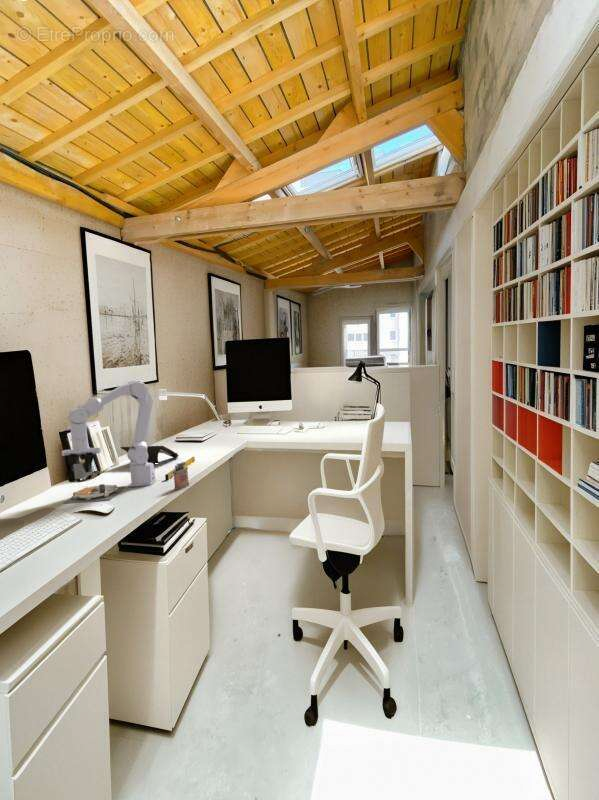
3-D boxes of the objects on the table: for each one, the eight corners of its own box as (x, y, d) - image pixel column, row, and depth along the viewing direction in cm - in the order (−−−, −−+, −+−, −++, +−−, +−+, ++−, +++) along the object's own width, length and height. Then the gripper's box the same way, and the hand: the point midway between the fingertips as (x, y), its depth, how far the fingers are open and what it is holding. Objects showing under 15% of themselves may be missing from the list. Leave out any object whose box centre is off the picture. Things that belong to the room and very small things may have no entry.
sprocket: (105, 485, 196) (104, 475, 195) (126, 490, 185) (125, 480, 184) (64, 496, 183) (63, 485, 182) (85, 502, 172) (84, 491, 171)
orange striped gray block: (92, 473, 186) (91, 458, 186) (83, 478, 179) (82, 463, 178) (84, 473, 186) (82, 459, 186) (74, 479, 178) (73, 464, 178)
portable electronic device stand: (181, 469, 243) (183, 452, 246) (161, 459, 222) (163, 441, 225) (141, 470, 247) (143, 453, 250) (117, 460, 226) (120, 442, 229)
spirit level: (192, 462, 232) (191, 456, 231) (195, 462, 231) (194, 456, 231) (165, 481, 199) (165, 474, 198) (168, 481, 198) (167, 474, 198)
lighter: (179, 490, 182) (177, 465, 181) (172, 490, 183) (170, 465, 182) (191, 484, 190) (189, 461, 189) (184, 484, 191) (182, 460, 190)
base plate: (126, 486, 193) (126, 485, 193) (110, 500, 175) (109, 499, 175) (83, 489, 193) (83, 488, 192) (62, 503, 175) (62, 502, 175)
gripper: (56, 441, 177) (60, 475, 178) (93, 439, 177) (97, 473, 179) (65, 438, 184) (68, 471, 185) (101, 435, 184) (104, 468, 186)
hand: (83, 472), depth 182 cm, fingers closed on orange striped gray block, 3 cm apart
